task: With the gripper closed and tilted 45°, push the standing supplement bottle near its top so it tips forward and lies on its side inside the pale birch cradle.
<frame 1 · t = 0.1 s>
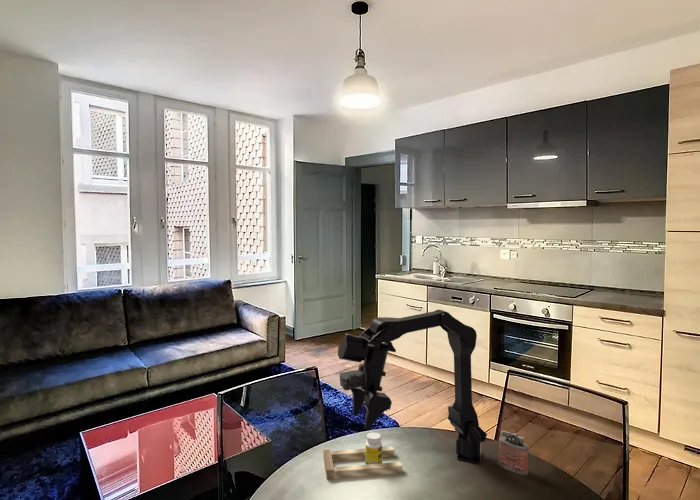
hand: (360, 421, 111), 15 cm above the table, tool pointing down, fingers open, 9 cm apart
cradle: (363, 465, 118), on the table
lighter: (512, 469, 116), on the table
supplement bottle: (373, 465, 118), on the table
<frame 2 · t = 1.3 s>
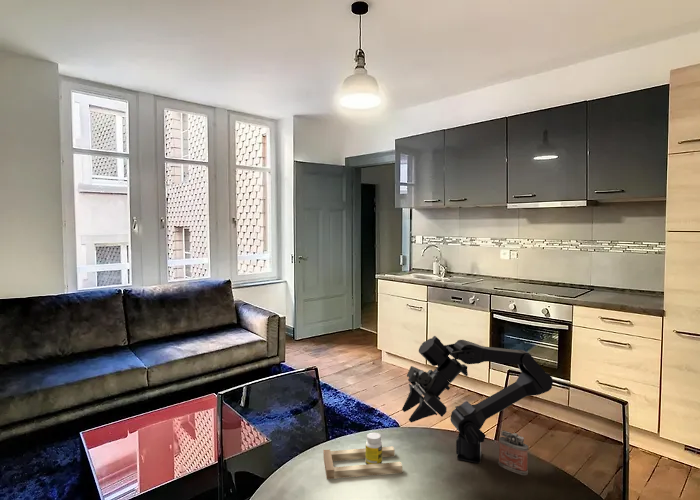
hand: (406, 415, 119), 13 cm above the table, tool tilted 45°, fingers open, 7 cm apart
nothing on the table moved.
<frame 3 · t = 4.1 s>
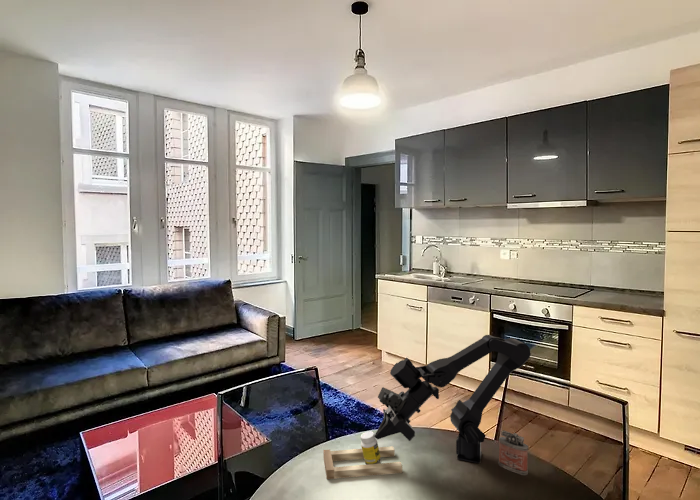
hand: (375, 437, 118), 8 cm above the table, tool tilted 45°, fingers closed
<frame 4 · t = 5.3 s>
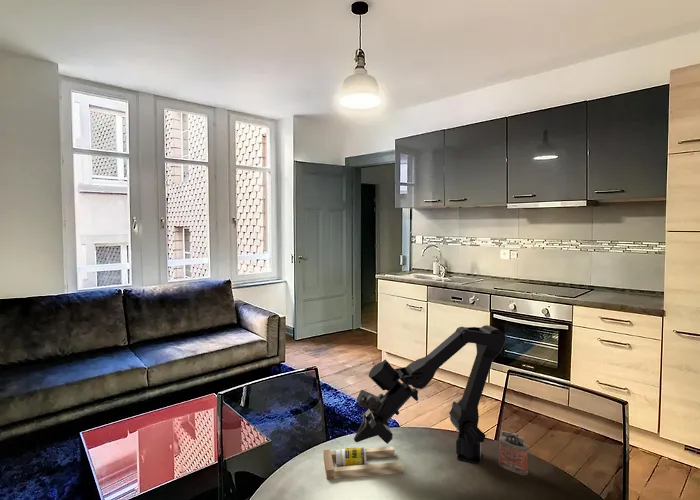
hand: (355, 440, 117), 7 cm above the table, tool tilted 45°, fingers closed
supplement bottle: (366, 456, 118), point 2 cm above the table
everything else where it was.
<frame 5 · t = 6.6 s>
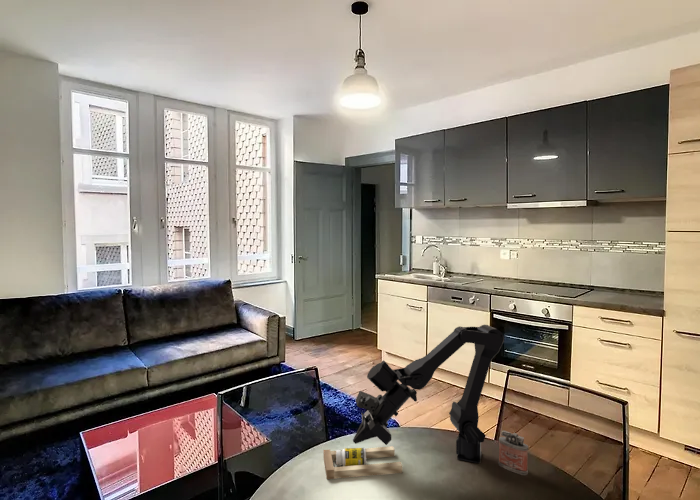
hand: (354, 442, 117), 7 cm above the table, tool tilted 45°, fingers closed
nothing on the table moved.
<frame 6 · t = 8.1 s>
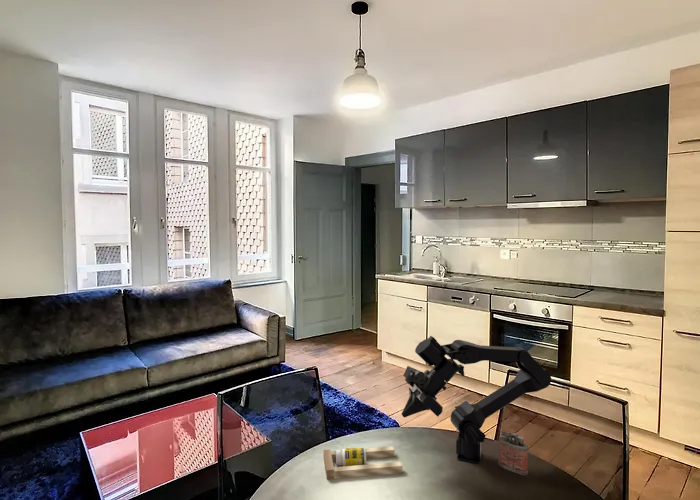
hand: (402, 415, 119), 14 cm above the table, tool tilted 45°, fingers closed
nothing on the table moved.
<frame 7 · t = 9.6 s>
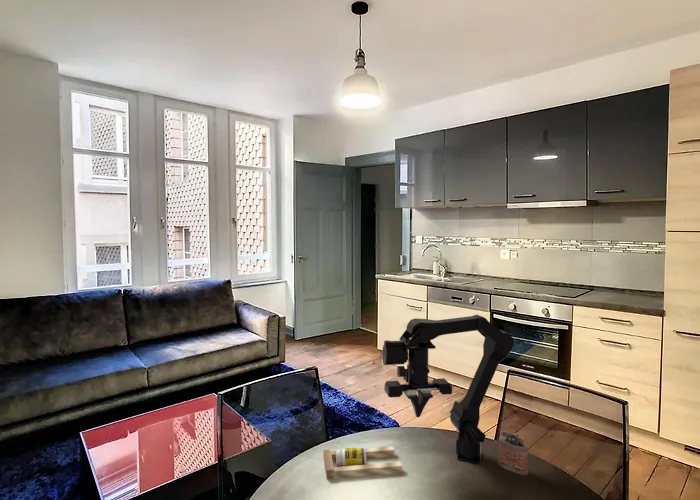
hand: (417, 416, 120), 13 cm above the table, tool pointing down, fingers closed
nothing on the table moved.
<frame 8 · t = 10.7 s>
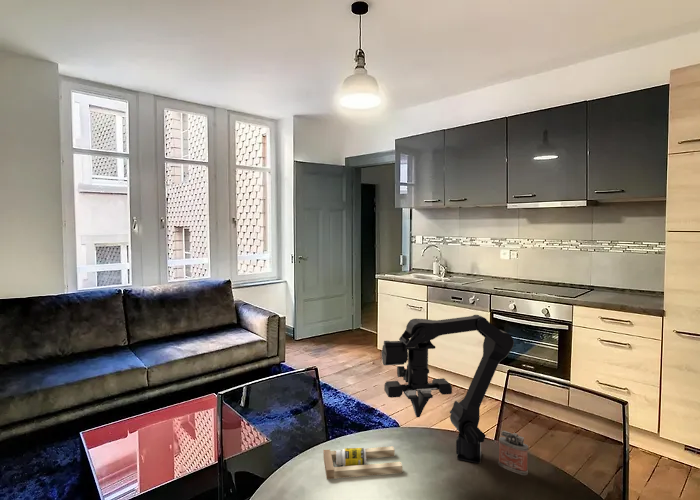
hand: (417, 416, 120), 13 cm above the table, tool pointing down, fingers closed
nothing on the table moved.
at the end: supplement bottle tilted 90°; supplement bottle inside the target area on the cradle (2.6 cm from its centre), point 2.4 cm above the cradle's base; the gripper is holding nothing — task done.
